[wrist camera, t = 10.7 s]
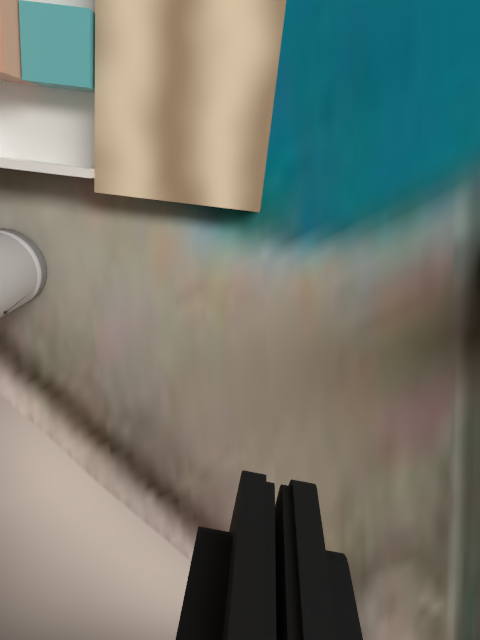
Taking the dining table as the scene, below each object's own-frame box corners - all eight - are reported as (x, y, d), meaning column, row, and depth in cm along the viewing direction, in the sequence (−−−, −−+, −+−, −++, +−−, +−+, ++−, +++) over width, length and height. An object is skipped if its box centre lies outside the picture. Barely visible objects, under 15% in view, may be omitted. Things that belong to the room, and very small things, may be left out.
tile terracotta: (-1, -14, 26) (-44, -19, 26) (3, 72, 28) (-37, 67, 28) (36, 11, 30) (-1, 7, 30) (38, 85, 32) (3, 80, 32)
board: (295, -79, 28) (299, -101, 26) (259, 209, 34) (259, 212, 32) (109, -101, 29) (95, -125, 26) (105, 190, 34) (94, 192, 32)
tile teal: (102, 20, 30) (89, 8, 28) (102, 93, 32) (89, 88, 29) (37, 12, 30) (18, -1, 28) (39, 86, 32) (21, 79, 29)
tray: (109, -81, 29) (89, -113, 26) (105, 177, 34) (89, 178, 31) (-29, -97, 29) (-66, -131, 26) (-11, 163, 34) (-40, 162, 31)
